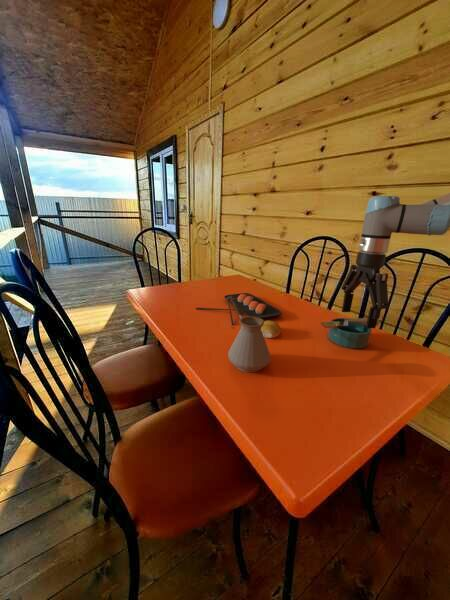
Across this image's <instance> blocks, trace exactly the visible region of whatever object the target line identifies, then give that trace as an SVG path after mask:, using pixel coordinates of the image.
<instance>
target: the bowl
mask: <svg viewBox="0 0 450 600" xmlns="http://www.w3.org/2000/svg"><path fill="white" fill-rule="evenodd" d="M345 319H348V318H347V317H336V318H332V319H331V320H330V321H329V322H338V321H343V322H344V320H345ZM372 329H373V328H366V326H357V327H348V328H327V339H329V340H330V341H331V342H332V343H335V344H336V345H338V346H340V347H344V348H347V349H354V350H355V349H363V348H367V347H368V345H369V342H370V339H371V335H372Z"/></svg>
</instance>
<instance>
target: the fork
mask: <svg viewBox="0 0 450 600" xmlns="http://www.w3.org/2000/svg"><path fill="white" fill-rule="evenodd" d="M367 319H368V317H359V318H355V317H354V318H347V319H345V320H344V322H343V321H338V322H330V321H321V322H320V325H321V326H322V327H323V328H324V329H329V328H348V327H357V326H366V323H367ZM380 321H381V320H380V319H378V320H377V324H376V327H378V326H379V325H380Z"/></svg>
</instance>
